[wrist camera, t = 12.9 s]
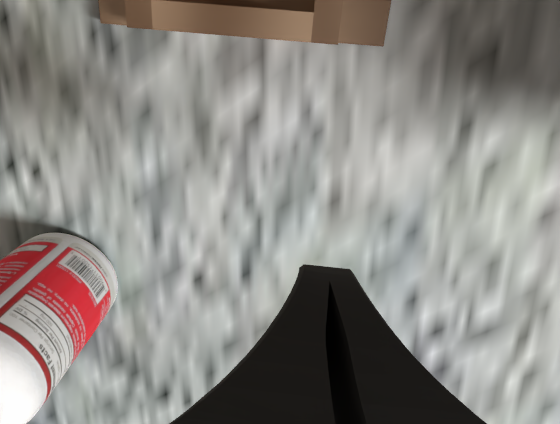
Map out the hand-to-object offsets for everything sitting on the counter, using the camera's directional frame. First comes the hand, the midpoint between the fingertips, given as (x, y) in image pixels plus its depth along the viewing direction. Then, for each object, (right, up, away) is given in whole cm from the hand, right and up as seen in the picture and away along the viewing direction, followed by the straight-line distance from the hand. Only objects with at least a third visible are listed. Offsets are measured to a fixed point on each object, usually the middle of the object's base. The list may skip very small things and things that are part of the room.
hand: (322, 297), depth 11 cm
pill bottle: (-14, -1, +14) cm, 19 cm away
